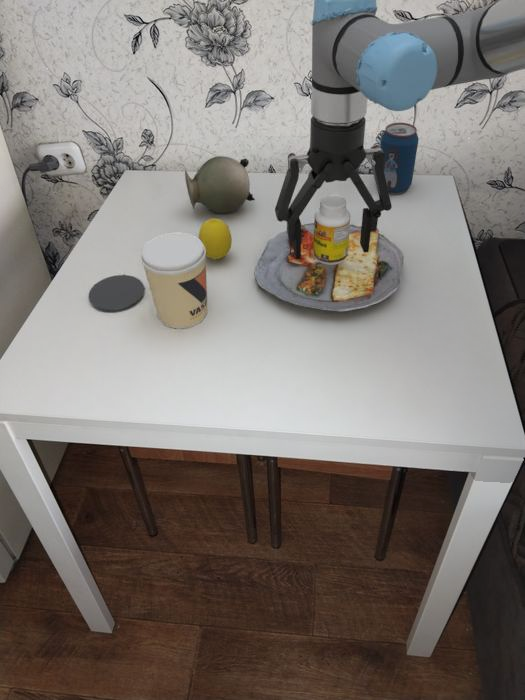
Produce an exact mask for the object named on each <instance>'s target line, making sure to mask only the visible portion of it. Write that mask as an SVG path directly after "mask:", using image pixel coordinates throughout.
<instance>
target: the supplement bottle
mask: <svg viewBox="0 0 525 700" xmlns="http://www.w3.org/2000/svg"><path fill="white" fill-rule="evenodd" d="M313 223H314V257H315V259H316V260H317V261H319V262H320V263H323V264H327V265H335V264H339V263H341V262H343V261H344V260H345V259H346V257H347V253H348V242H349V230H350V225H351V211H350V210H348V208H347V200H346V199H345V198H344V197H343V196H341V195H337V194H328V195H325V196H323V197H322V198H321V199H320V202H319V207H318V208H317V209H316V210H315V213H314V222H313Z"/></svg>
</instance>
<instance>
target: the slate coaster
mask: <svg viewBox="0 0 525 700" xmlns="http://www.w3.org/2000/svg"><path fill="white" fill-rule="evenodd" d="M144 285H145V284H144V283H143V282H142V281H141V280H140V279H139V278H137V277H135V276H132V275H128V274H118V275H111V276H108V277H105V278H103V279H101V280H99V281H98V282H96V283H95V284H94V285H92V287H91V288H90V290H89V292H88V300H89V303H90V305H91V306H92V307H93V308H94V309H95V310H98V311H100V312H104V313H118V312H119V313H120V312H123V311H127V310H129V309H131V308H134V306H135V307H136V305H137V304H139V302H141V301H142V300H143V298H144V296H145V293H146V290H145V286H144Z"/></svg>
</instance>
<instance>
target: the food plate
mask: <svg viewBox="0 0 525 700" xmlns="http://www.w3.org/2000/svg"><path fill="white" fill-rule="evenodd" d="M360 237H361V226H359V225H355V224H350V230H349V242H348V253H347V257H346V259H345V260H344V261H343V262H341V263H339V264H335V265H327V264H323V263H320V262H319V261H317V260H316V259H315V257H314V222H313V223H311V222H310V223H306V224H305V223H304V224H301V259H296V257H295V254H294V250H293V240H289V238H288V235H287V230H285V231H282V232H279V233H278V234H277V235H275V236H274V237H272V238H270V239H269V240H268V241H267V243H266V245H265V247H264V249H263V251H262V253H261V255H260V258H259V259H258V261H257V263H256V267H255V268H254V272H253V274H254V278H255V280H256V282H257V284H258V286H259V287H261V288H262V289H263V290H265V291H266V292H267V293H271V294H272V295H273V296H275V297H276V298H278V299H280V300H282V301H284V302H287V303H289V304H294V305H296V306H300V307H305V308H309V309H315V310H318V311H320V310H321V311H323V310H324V311H331V312H350V311H353V310H358V309H359V310H360V309H363V308H369V307H371V306H374V305H376V304H378V303H380V302H382V301H384V300H386V299H387V298H389V297H390V296H391V295H393V294H394V293H395V292H397V290H398V288H399V286H400V280H401V275H402V270H403V269H402V268H403V264H404V258H405V256H404V254H403V251H402V250H401V249H400V248H399V247H398V246H397V245H396V244H395V243H394V242H392V241H390V240H389V239H388V238H387V237H385V235H383V234H381V233H380V230H379V228H377V229H376V231H374V232H371V234H370V243H369V252H363V249H362V247H361V245H360Z"/></svg>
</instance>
